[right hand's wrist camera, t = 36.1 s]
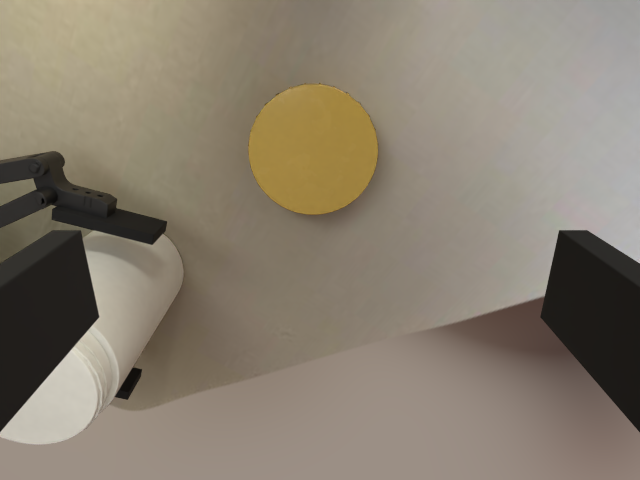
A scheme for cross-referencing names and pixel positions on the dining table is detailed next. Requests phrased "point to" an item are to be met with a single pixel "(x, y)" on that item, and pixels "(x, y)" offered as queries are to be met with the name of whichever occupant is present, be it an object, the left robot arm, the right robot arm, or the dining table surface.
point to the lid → (313, 149)
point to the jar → (103, 337)
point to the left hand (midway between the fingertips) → (147, 314)
